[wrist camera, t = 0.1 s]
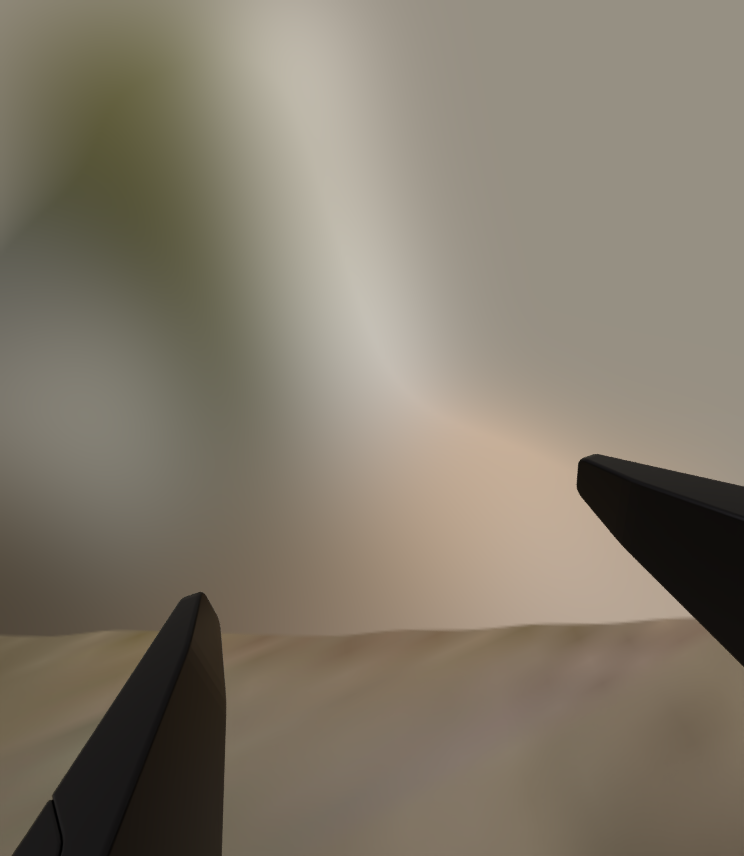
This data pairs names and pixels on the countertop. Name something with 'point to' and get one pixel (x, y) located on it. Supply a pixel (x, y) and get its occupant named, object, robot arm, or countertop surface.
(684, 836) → the countertop surface
